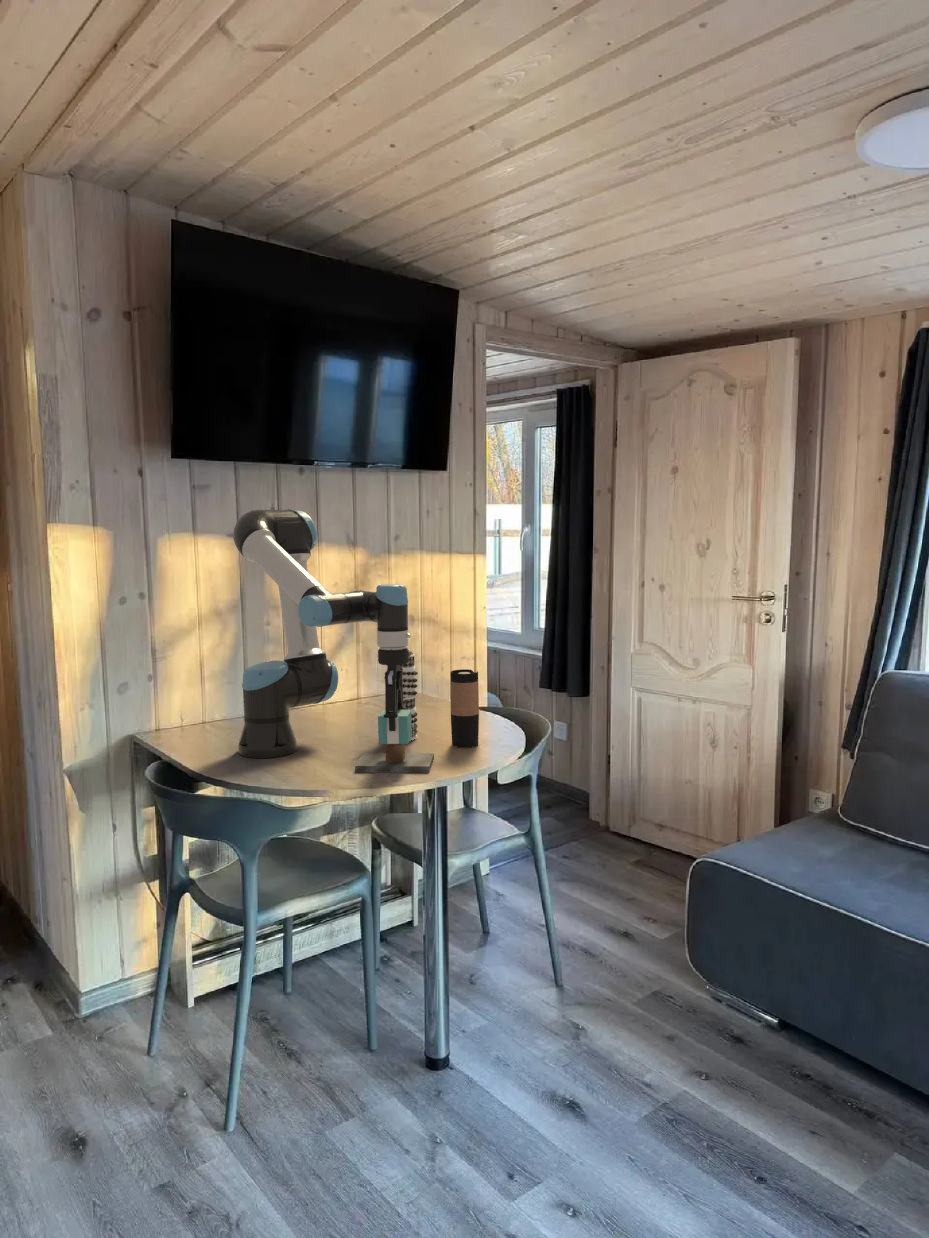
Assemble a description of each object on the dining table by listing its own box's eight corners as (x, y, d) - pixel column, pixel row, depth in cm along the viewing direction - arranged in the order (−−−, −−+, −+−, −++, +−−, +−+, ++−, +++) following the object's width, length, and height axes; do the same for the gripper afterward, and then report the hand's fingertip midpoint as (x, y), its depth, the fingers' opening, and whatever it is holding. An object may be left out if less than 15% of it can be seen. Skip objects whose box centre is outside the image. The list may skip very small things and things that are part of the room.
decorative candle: (420, 733, 246) (418, 647, 243) (417, 741, 237) (415, 651, 234) (388, 733, 246) (386, 647, 243) (384, 742, 237) (382, 652, 234)
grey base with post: (355, 771, 208) (354, 733, 207) (363, 758, 220) (363, 722, 219) (429, 772, 207) (428, 733, 206) (434, 759, 219) (433, 722, 218)
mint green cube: (378, 743, 209) (377, 716, 209) (383, 736, 216) (382, 710, 216) (408, 743, 209) (407, 716, 208) (411, 736, 216) (411, 710, 215)
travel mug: (449, 747, 230) (448, 673, 228) (453, 740, 238) (452, 669, 235) (477, 748, 229) (476, 674, 227) (480, 741, 236) (480, 669, 234)
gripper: (403, 653, 200) (405, 749, 202) (413, 642, 220) (415, 730, 222) (371, 653, 200) (373, 749, 203) (384, 642, 220) (386, 730, 223)
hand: (395, 739), depth 213 cm, fingers closed on mint green cube, 7 cm apart
